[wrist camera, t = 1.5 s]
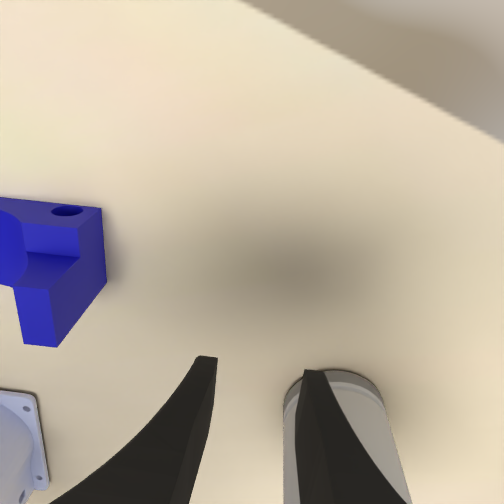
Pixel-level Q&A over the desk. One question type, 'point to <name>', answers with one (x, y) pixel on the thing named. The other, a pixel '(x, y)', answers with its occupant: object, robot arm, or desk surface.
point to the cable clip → (51, 264)
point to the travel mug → (363, 423)
